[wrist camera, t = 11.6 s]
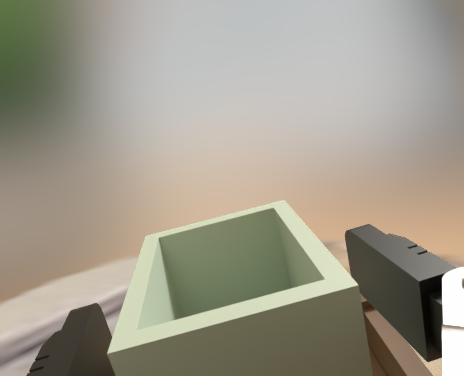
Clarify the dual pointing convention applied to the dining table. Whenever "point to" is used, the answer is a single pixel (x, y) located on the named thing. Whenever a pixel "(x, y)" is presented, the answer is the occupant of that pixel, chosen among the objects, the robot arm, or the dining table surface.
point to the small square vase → (240, 303)
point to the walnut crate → (389, 347)
